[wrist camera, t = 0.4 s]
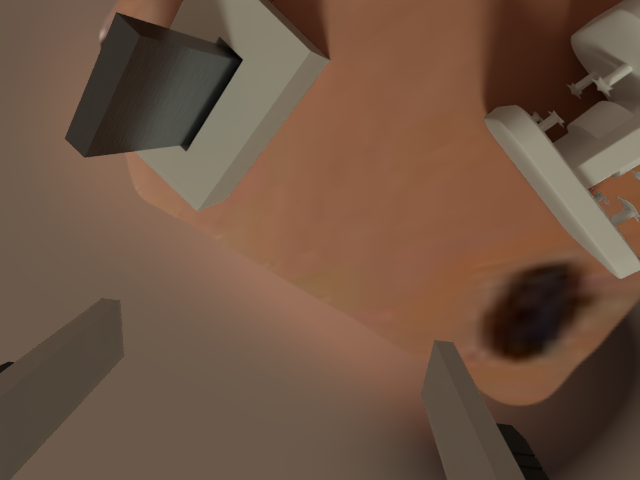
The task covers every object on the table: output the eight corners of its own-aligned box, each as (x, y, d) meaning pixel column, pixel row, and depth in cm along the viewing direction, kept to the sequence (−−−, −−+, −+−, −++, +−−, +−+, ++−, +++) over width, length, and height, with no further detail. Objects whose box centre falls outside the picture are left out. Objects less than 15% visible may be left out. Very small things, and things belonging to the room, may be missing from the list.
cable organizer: (472, 112, 33) (488, 111, 23) (590, 18, 28) (679, -37, 18) (567, 235, 34) (625, 290, 23) (697, 164, 29) (840, 192, 19)
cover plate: (244, 52, 36) (116, 12, 21) (259, 66, 36) (140, 35, 22) (197, 129, 40) (64, 138, 26) (210, 141, 40) (84, 157, 26)
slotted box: (243, -25, 35) (207, -50, 30) (330, 60, 35) (310, 51, 30) (156, 131, 44) (117, 134, 38) (226, 199, 44) (197, 211, 38)
